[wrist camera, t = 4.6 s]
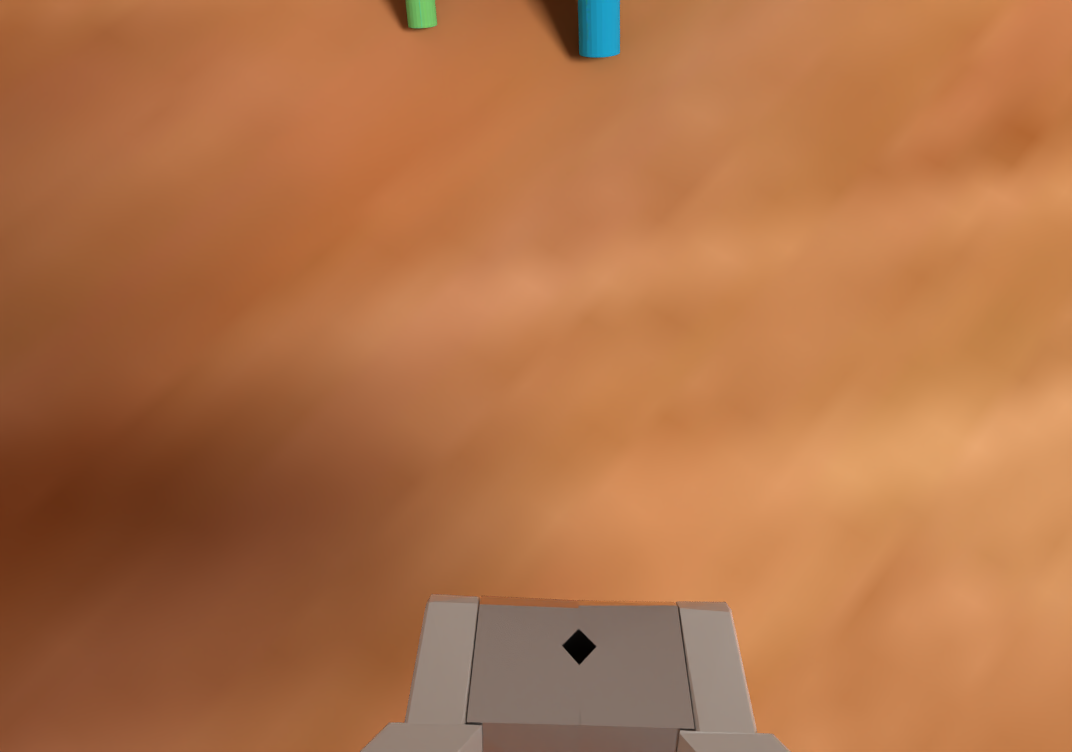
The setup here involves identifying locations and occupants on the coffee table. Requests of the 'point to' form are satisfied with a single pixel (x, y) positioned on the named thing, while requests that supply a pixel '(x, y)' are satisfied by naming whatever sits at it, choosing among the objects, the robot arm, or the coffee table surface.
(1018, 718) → the coffee table surface
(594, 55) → the gear
